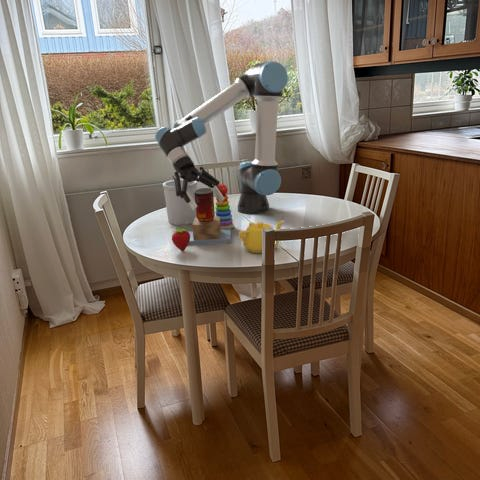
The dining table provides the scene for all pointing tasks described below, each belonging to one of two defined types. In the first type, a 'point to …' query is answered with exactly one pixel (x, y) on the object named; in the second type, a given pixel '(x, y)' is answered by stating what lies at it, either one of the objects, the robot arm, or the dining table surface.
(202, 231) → the block
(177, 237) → the strawberry
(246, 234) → the teapot
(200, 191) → the jam jar
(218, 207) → the stacking toy
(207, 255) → the dining table surface
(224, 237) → the base board
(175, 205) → the utensil holder
